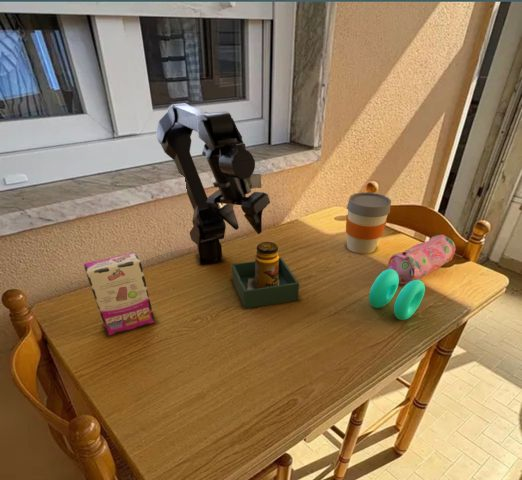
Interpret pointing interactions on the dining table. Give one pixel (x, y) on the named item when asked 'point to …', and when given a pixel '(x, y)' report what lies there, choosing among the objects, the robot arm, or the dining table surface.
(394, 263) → the pencil case
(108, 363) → the dining table surface
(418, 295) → the donuts
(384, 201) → the reusable coffee cup
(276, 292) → the square tray
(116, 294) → the candy bar box
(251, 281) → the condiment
